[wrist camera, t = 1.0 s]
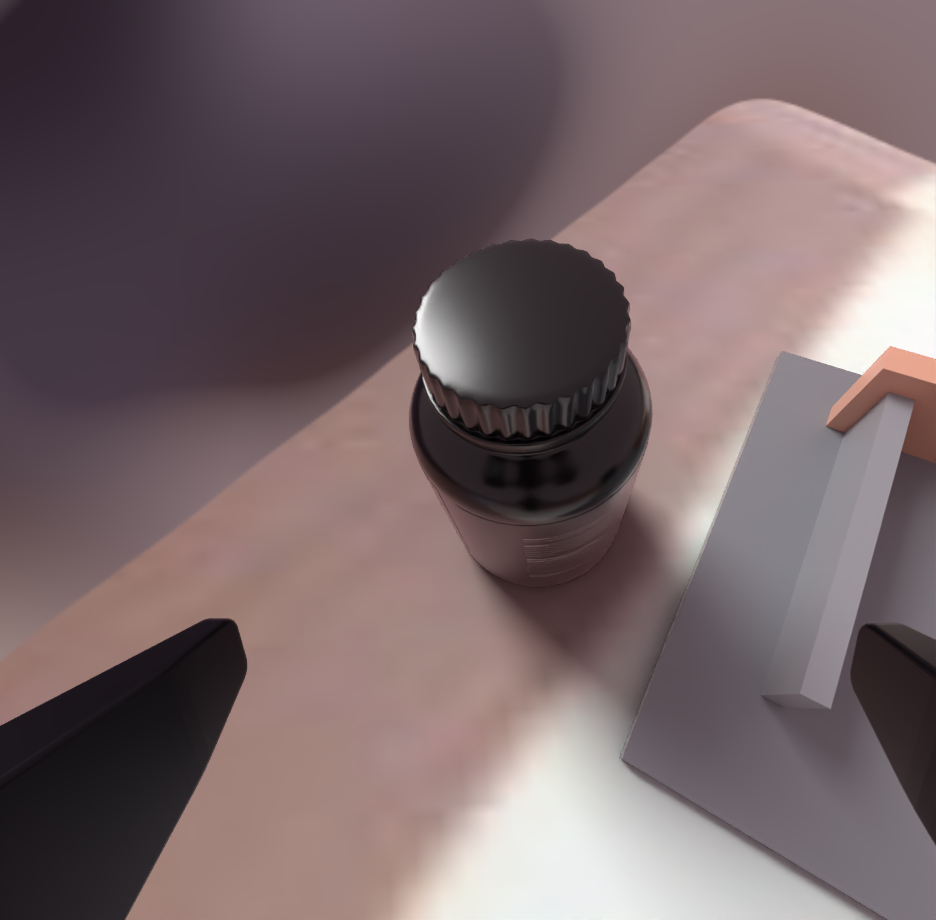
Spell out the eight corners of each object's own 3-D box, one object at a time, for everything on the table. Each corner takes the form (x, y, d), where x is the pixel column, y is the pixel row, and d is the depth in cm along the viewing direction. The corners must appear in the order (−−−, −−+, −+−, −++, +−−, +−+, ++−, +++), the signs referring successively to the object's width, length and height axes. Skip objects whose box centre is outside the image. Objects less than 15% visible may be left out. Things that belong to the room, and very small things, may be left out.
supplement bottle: (626, 448, 22) (699, 210, 12) (608, 605, 20) (683, 487, 9) (473, 428, 24) (412, 201, 13) (437, 571, 21) (324, 435, 10)
